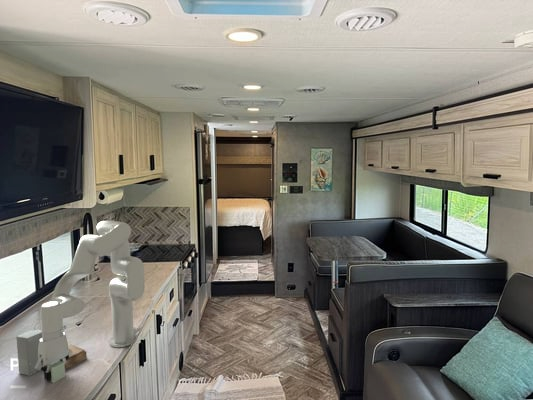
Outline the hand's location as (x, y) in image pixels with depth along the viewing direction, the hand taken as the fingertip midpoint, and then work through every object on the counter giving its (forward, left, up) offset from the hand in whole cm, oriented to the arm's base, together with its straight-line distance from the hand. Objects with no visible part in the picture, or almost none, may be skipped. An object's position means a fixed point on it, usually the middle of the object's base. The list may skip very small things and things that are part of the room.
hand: (55, 376), depth 148 cm
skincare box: (+1, -14, -1) cm, 14 cm away
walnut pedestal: (-10, -8, -1) cm, 13 cm away
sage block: (0, 0, -1) cm, 1 cm away
